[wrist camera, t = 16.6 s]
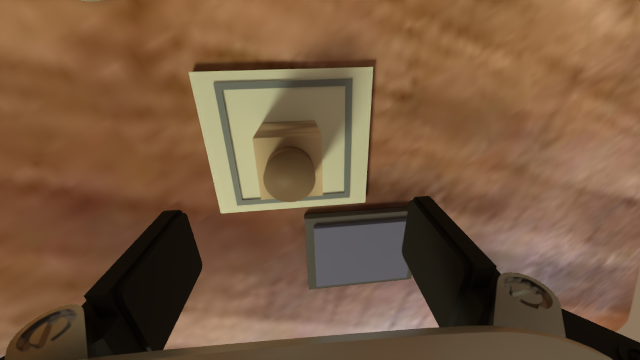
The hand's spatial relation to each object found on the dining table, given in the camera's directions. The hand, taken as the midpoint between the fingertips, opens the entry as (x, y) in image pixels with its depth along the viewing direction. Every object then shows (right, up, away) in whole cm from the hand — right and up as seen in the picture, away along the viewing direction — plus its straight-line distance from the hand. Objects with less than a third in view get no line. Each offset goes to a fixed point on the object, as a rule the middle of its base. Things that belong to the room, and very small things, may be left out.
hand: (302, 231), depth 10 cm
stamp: (-2, +6, +14) cm, 15 cm away
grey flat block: (+6, -6, +21) cm, 23 cm away
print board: (-2, +6, +14) cm, 16 cm away
